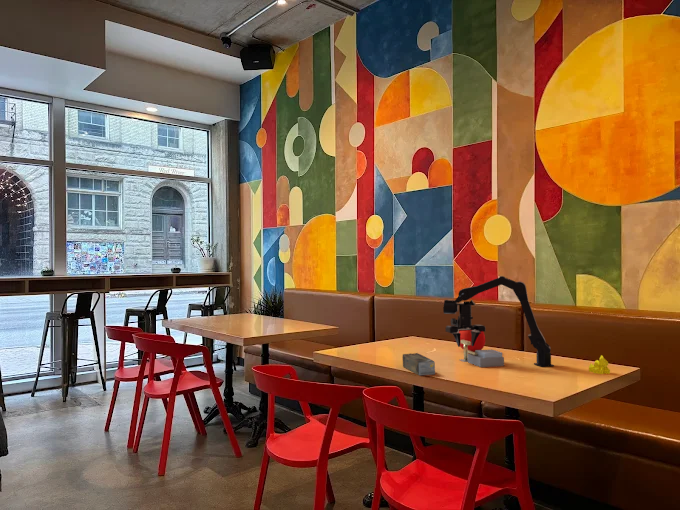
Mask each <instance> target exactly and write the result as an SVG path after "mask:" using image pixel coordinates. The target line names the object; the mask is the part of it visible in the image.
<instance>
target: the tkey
mask: <svg viewBox="0 0 680 510" xmlns="http://www.w3.org/2000/svg"><path fill="white" fill-rule="evenodd" d="M461 343H462V344H464V349H463V359H464V360H468V354H473V355H477V353H476V352H473V351H470V350H468V345H471V342H470V341H467V340H461Z"/></svg>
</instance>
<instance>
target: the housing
mask: <svg viewBox="0 0 680 510" xmlns="http://www.w3.org/2000/svg"><path fill="white" fill-rule="evenodd" d="M459 361H461V362H462V363H463V362H464V363H465V362H466V363H469V364H471V365H473V364H474V366H476V367H478V366H479V368H491V367H492V368H493V367H504V366H505V357H504V356H502V357H493V358H483V357H481V356H478V355H473V354H470V353H468V360H464V358H461V359H459Z"/></svg>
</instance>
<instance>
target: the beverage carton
mask: <svg viewBox="0 0 680 510" xmlns="http://www.w3.org/2000/svg"><path fill="white" fill-rule="evenodd" d="M435 363H436V362H435V360H432V359H430V358H428V357H427V356H424V355H422V354H420V353H418V352H417V353H416V352H414V353H403V354H402V367H403V368H404V369H407V370H408V371H410V372H412V373H414V374H415V375H418V376H431V375H436V365H435Z"/></svg>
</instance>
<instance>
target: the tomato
mask: <svg viewBox="0 0 680 510" xmlns="http://www.w3.org/2000/svg"><path fill="white" fill-rule="evenodd" d="M471 331H472V330H466V331H459V333H461V335H460V347H459V348H461V349H462V350H464V344H462V343H461V340H467V341H470V342H471V336H472V335H471ZM485 345H486V335H485V331H484V332H481V333H480V334H479V336H478V337H477V339H476V341H475V344H474V346H472V345H468V350H470V351H473V352H475V350H484V349H483V348H484V347H485Z"/></svg>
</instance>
